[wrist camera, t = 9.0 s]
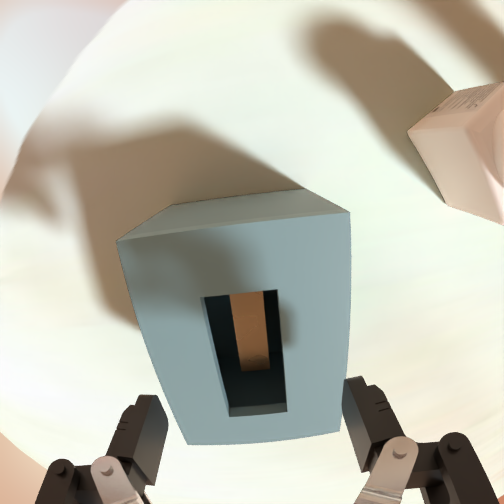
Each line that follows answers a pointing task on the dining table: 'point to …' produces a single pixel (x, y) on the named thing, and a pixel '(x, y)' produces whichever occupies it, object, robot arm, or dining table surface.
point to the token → (250, 330)
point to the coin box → (221, 318)
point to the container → (466, 149)
